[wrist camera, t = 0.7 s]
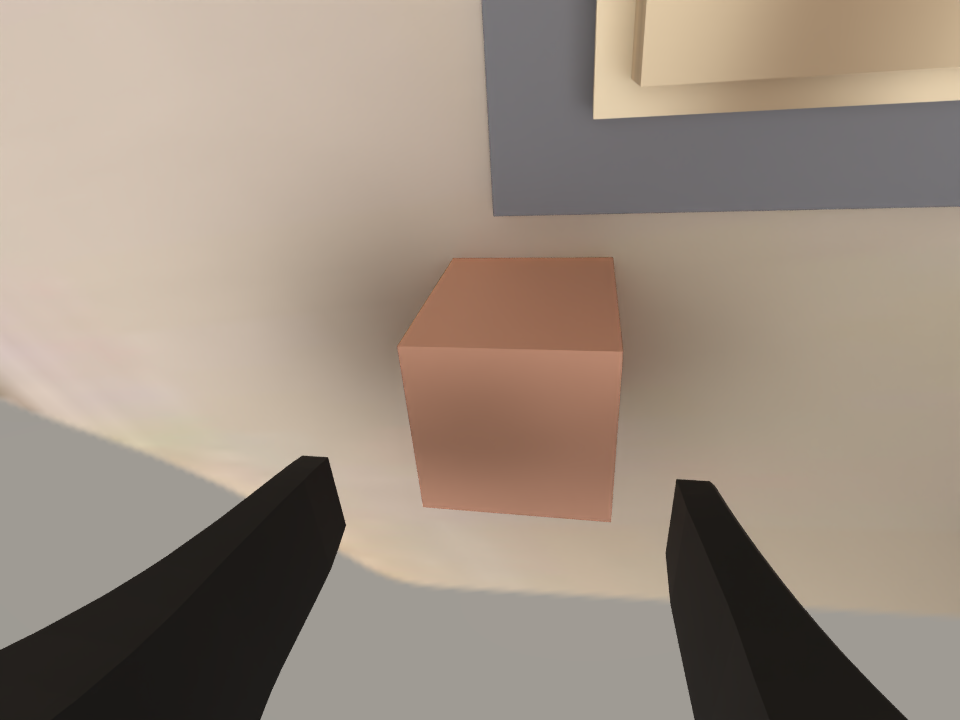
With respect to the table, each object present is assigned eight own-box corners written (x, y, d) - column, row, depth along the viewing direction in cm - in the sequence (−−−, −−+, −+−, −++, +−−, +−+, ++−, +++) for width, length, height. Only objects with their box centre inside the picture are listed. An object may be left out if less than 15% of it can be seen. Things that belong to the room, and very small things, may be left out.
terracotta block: (612, 256, 17) (622, 351, 11) (605, 393, 19) (610, 521, 14) (453, 257, 17) (397, 346, 12) (466, 388, 20) (422, 506, 15)
